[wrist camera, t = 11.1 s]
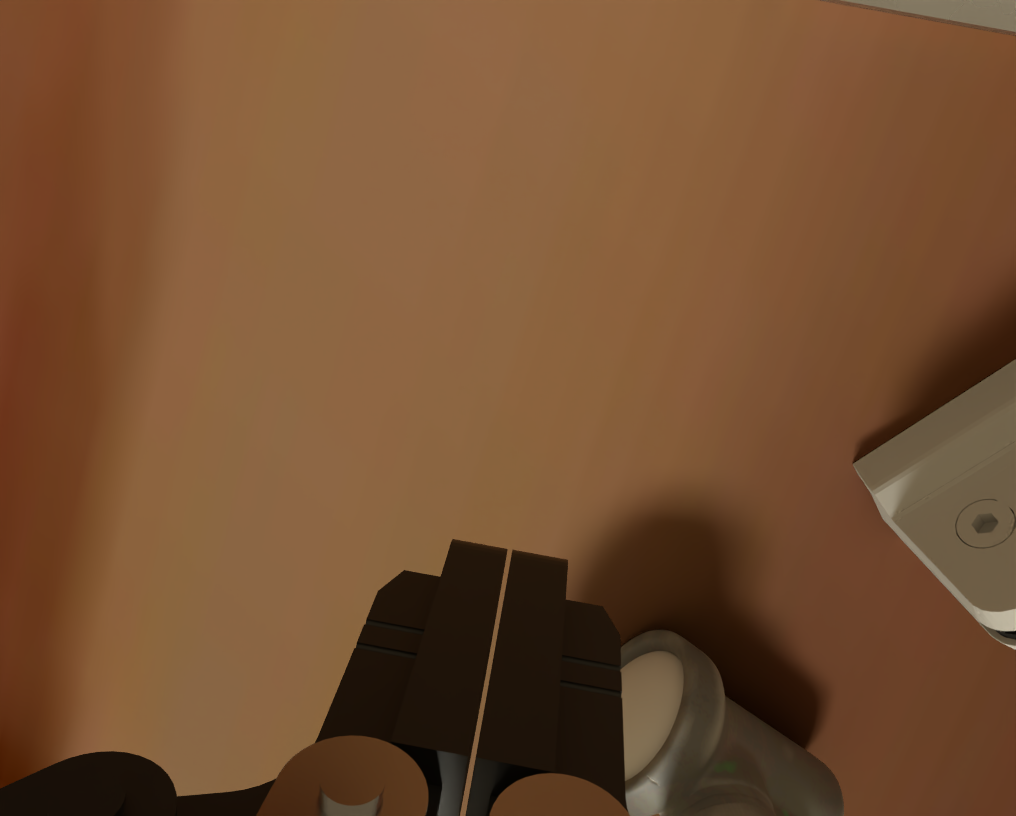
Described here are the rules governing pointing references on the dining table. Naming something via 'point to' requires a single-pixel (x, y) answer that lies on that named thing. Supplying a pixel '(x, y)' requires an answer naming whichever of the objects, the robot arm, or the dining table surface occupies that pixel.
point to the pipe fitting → (707, 743)
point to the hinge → (958, 497)
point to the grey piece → (950, 11)
